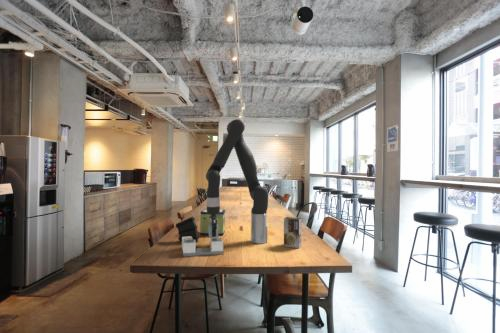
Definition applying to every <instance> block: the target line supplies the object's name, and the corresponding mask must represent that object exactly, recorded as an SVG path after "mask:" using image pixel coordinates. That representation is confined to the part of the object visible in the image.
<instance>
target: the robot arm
mask: <svg viewBox="0 0 500 333" xmlns="http://www.w3.org/2000/svg"><path fill="white" fill-rule="evenodd" d="M245 127H246V126H245V122H244V121H243V120H241V119H233V120H231V121H229V123H228V124H227V125H226V131H227V135H226V138H225V140H224V141H223V143H222V144H221V146H220V147H219V149H218V151H217V152H216V155H215V156H214V158H213V162H212V163H211V165H210V167H208V169H207V171H206V174H205V179H206V180H207V183H208V184H207V185H208V186H207V189H206V201H205V202H206V209H207V214H209V215H210V214H211V216H210V225H211V226H212V237H216V229H217V216H216V214H219V213H220V210H221V200H220V188H221V187H220V186H221V174H220V173H221V171H222V169H224V168H225V166H226V164H227V162H228V160H229V157H230V156H231V154H232V152H233V149H234V151H235V154H236V157H237V159H238V163H239V165H240V169H241V171H242V174H243V176H244V178H245V180H246V184H247V188H248V193H249V196H250V198H251V199H252V200H253V202H252V204H253V206H252V207H251V212H250V213H251V214H250V220H251V221H250V242H251V243H252V244H258V245H259V244H265V243H268V225H267V210H268V207H269V192H268V190H267V189H266V188H265V187H264V186H262V185H261V183H260V181H259V179H258V173H257V172H258V171H257V164H256V161H255V157H254V155H253V153H252V151H251V150H250V148H249V147H248V145H247V143H246V142H245V139H244V136H243V133H244V131H245V129H246V128H245ZM213 226H215V227H213Z"/></svg>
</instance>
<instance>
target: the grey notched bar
mask: <svg viewBox="0 0 500 333" xmlns="http://www.w3.org/2000/svg"><path fill="white" fill-rule="evenodd" d="M209 239H210V241H209V242H210V243H209V244H210V245H209V246H210V247H205V248H204V247H203V248H196V246H197V245H196V244H197V243H196V242H195V239H191V240H183V249H182V257H183V258H184V257H185V258H186V257H201V256H216V255H217V256H218V255H224V240H223V237H218V238H209Z"/></svg>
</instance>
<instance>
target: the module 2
mask: <svg viewBox="0 0 500 333" xmlns="http://www.w3.org/2000/svg"><path fill="white" fill-rule="evenodd" d="M213 227H215V226H213ZM208 238H209V239H212V238H219V236H218V225H217V229H216V237H212V226H211V225H209V235H208Z"/></svg>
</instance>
